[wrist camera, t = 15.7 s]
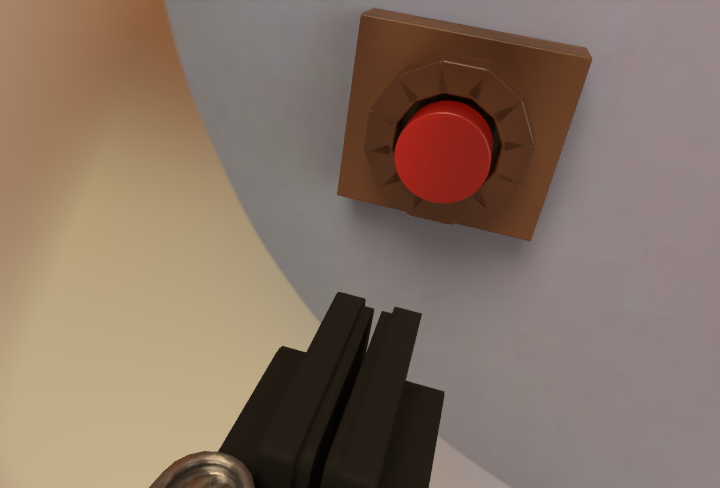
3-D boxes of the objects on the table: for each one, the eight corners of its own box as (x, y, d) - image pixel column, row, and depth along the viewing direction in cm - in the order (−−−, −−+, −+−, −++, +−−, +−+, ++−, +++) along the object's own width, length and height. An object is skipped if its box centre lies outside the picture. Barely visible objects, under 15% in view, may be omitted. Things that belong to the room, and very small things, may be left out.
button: (395, 176, 24) (386, 192, 22) (411, 91, 22) (403, 102, 21) (480, 195, 23) (477, 213, 22) (503, 110, 22) (502, 123, 20)
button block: (348, 177, 28) (325, 211, 25) (373, 7, 24) (348, 19, 21) (530, 220, 27) (531, 261, 24) (587, 48, 23) (598, 68, 20)
